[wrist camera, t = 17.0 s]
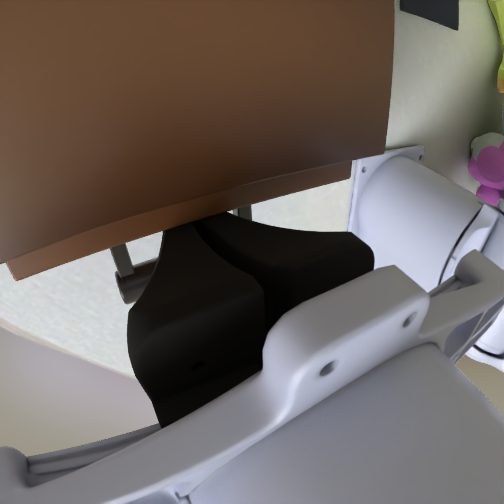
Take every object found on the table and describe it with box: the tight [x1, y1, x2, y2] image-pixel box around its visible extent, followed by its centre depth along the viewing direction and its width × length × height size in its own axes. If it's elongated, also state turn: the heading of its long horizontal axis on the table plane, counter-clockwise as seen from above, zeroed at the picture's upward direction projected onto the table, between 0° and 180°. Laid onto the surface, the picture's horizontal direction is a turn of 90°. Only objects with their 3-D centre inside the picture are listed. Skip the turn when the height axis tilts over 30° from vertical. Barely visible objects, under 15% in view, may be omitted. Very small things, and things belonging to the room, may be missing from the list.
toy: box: [468, 103, 504, 206], centre depth 26 cm, size 13×6×15 cm
